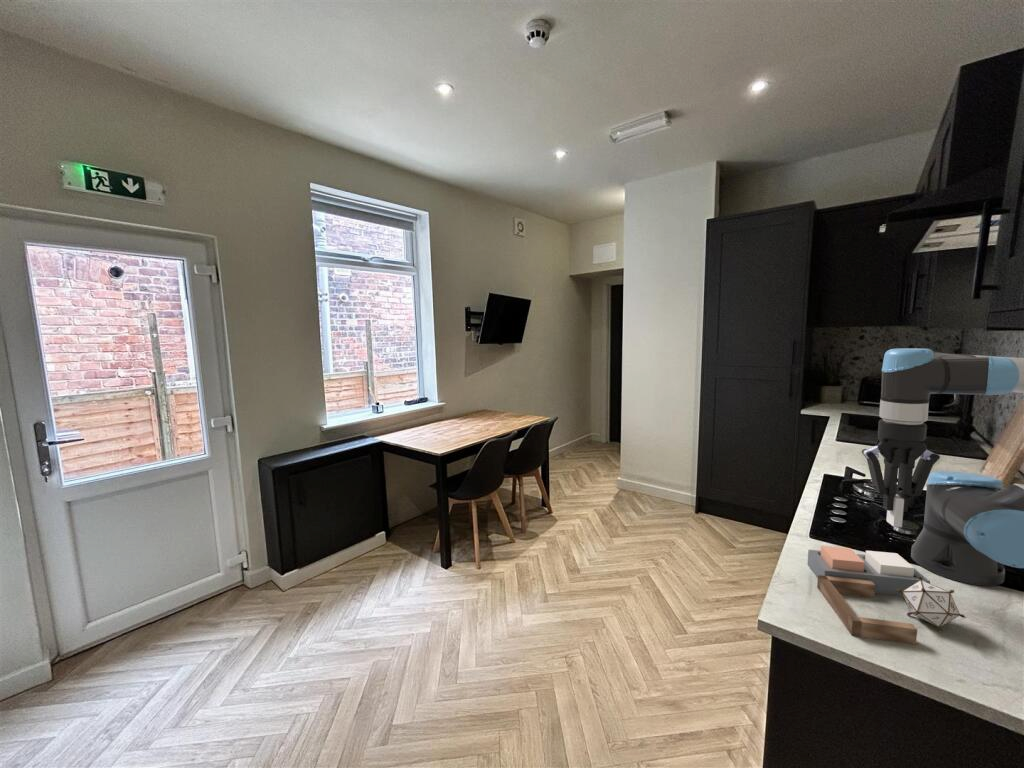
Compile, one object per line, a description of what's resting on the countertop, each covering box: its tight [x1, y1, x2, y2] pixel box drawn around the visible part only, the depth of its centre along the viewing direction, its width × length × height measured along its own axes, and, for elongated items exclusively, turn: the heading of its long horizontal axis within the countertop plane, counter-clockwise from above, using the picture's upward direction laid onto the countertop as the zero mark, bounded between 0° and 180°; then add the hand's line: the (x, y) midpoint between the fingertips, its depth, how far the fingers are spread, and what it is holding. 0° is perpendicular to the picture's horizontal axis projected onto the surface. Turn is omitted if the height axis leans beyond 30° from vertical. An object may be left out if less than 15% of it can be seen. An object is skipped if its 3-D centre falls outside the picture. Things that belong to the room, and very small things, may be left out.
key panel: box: [807, 549, 931, 597], centre depth 94 cm, size 19×9×4 cm, turn 74°
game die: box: [896, 575, 967, 633], centre depth 80 cm, size 9×8×10 cm
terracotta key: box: [820, 545, 865, 572], centre depth 95 cm, size 6×6×3 cm
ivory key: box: [864, 550, 915, 577], centre depth 92 cm, size 6×6×3 cm
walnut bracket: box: [816, 575, 918, 645], centre depth 83 cm, size 10×15×3 cm, turn 164°
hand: (894, 524), depth 90 cm, fingers closed
